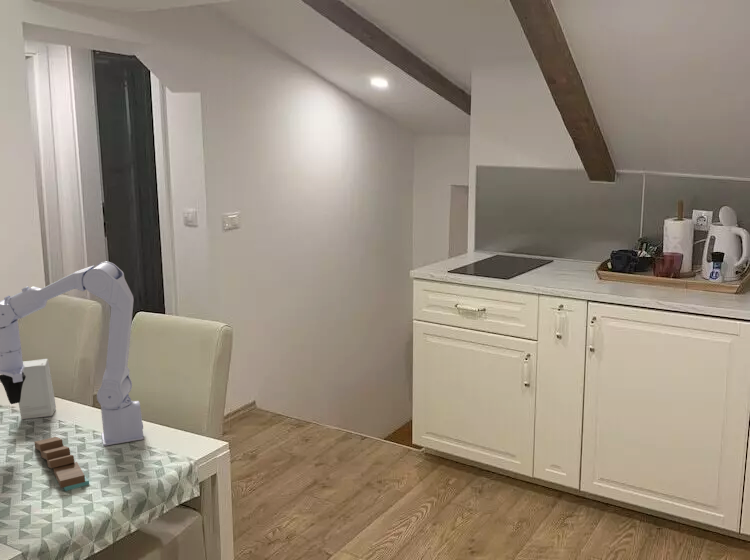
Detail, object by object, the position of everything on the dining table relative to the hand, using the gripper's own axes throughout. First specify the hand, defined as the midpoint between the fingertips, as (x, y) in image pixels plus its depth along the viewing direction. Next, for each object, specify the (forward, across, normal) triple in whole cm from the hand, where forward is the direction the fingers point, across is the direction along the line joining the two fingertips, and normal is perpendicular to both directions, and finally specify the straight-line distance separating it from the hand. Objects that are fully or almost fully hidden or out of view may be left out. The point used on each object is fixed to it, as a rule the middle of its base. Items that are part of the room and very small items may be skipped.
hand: (14, 402), depth 188 cm
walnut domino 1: (+10, +6, +5) cm, 12 cm away
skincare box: (+11, -16, +8) cm, 21 cm away
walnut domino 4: (+9, +26, +4) cm, 28 cm away
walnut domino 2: (+10, +12, +4) cm, 16 cm away
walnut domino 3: (+10, +19, +4) cm, 22 cm away
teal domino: (+10, +26, +4) cm, 28 cm away
